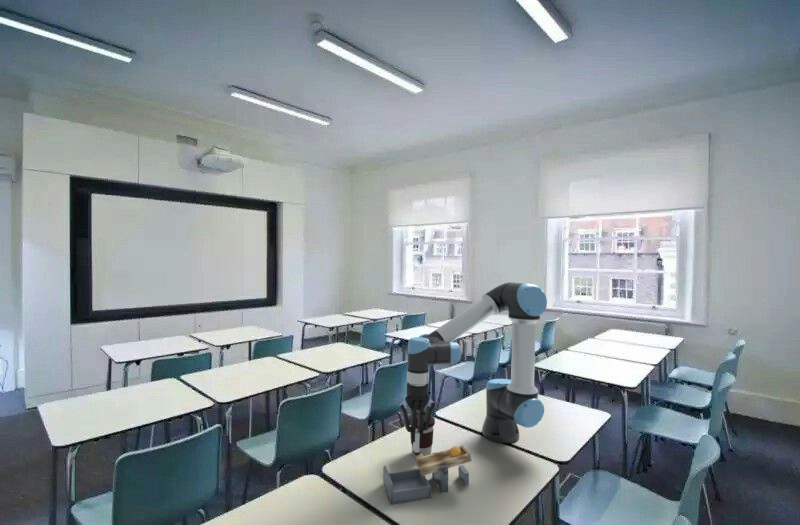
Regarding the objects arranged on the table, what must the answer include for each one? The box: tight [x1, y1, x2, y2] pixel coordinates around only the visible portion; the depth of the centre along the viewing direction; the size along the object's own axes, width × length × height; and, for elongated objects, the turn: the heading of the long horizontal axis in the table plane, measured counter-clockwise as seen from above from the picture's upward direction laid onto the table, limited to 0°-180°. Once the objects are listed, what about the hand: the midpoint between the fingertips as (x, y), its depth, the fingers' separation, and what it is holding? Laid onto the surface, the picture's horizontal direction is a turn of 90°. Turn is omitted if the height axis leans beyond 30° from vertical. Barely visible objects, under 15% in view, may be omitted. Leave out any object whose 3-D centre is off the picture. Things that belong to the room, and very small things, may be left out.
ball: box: [450, 445, 461, 457], centre depth 125 cm, size 4×4×4 cm
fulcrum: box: [431, 451, 449, 494], centre depth 124 cm, size 2×10×8 cm, turn 14°
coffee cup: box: [408, 411, 436, 457], centre depth 143 cm, size 10×10×15 cm
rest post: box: [457, 464, 470, 486], centre depth 126 cm, size 2×5×4 cm, turn 14°
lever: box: [412, 444, 472, 476], centre depth 128 cm, size 17×14×2 cm
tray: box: [382, 465, 432, 505], centre depth 121 cm, size 13×11×6 cm
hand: (416, 450), depth 131 cm, fingers closed
